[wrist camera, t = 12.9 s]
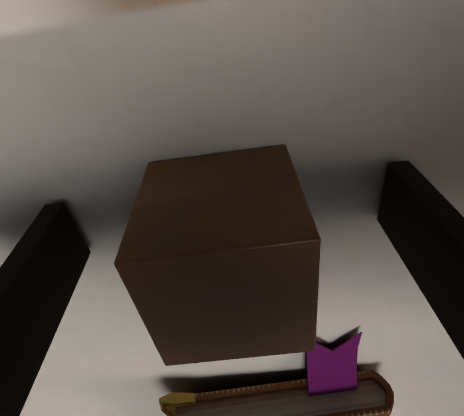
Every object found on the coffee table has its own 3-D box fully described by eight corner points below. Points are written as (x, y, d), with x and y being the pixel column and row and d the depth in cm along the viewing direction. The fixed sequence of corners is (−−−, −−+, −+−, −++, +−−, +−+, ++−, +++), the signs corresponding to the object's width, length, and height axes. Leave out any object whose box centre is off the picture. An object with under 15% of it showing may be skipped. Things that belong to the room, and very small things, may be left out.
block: (285, 144, 12) (321, 239, 8) (288, 245, 15) (315, 351, 11) (148, 162, 12) (112, 264, 8) (179, 257, 15) (165, 366, 11)
